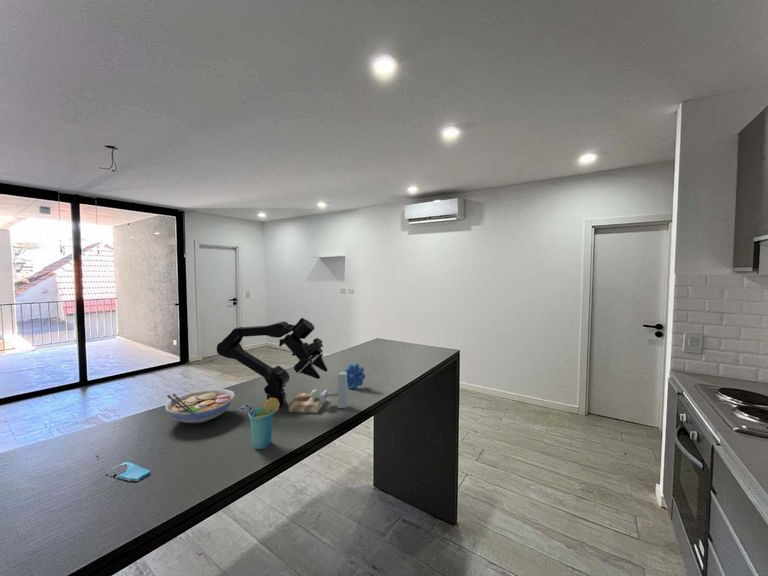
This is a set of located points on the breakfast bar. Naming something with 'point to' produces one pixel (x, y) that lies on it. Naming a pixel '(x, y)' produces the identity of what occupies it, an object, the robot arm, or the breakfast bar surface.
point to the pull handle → (339, 391)
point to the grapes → (354, 376)
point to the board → (305, 403)
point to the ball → (315, 394)
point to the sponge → (133, 471)
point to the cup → (262, 422)
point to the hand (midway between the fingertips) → (323, 374)
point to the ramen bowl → (199, 405)
